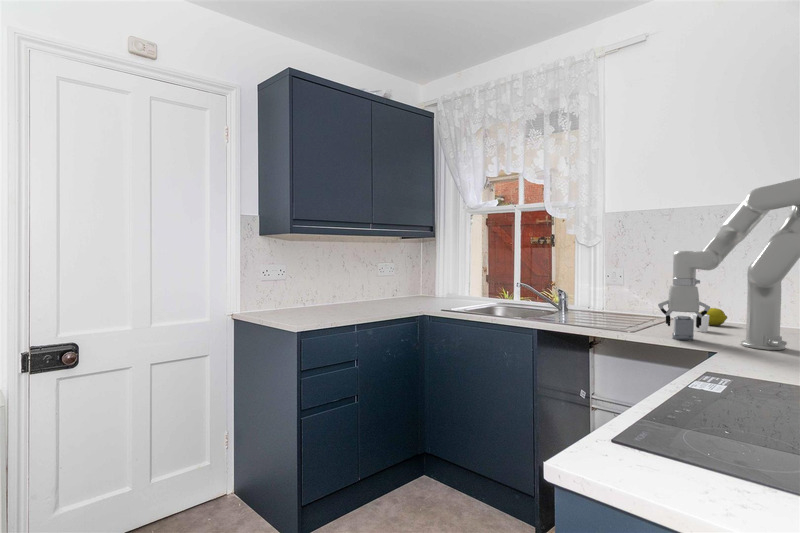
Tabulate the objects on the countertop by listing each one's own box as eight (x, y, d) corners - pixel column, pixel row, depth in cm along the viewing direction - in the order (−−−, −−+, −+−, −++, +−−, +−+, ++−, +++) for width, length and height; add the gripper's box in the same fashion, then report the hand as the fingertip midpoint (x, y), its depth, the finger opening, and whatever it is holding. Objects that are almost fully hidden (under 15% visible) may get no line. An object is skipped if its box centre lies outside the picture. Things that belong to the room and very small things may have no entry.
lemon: (727, 325, 211) (727, 308, 211) (726, 327, 205) (727, 309, 204) (699, 323, 217) (699, 306, 217) (697, 325, 211) (698, 308, 211)
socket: (693, 335, 175) (693, 318, 175) (675, 334, 178) (675, 317, 178) (691, 333, 181) (691, 316, 180) (673, 332, 183) (673, 315, 183)
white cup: (693, 331, 195) (693, 315, 194) (687, 329, 201) (687, 313, 201) (711, 332, 193) (712, 316, 193) (705, 329, 200) (705, 313, 199)
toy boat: (694, 341, 175) (695, 328, 174) (673, 339, 178) (673, 327, 177) (687, 332, 192) (688, 321, 192) (668, 331, 195) (668, 319, 195)
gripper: (708, 282, 178) (707, 326, 179) (657, 281, 186) (656, 323, 186) (712, 284, 171) (711, 329, 172) (659, 282, 179) (658, 326, 179)
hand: (683, 326), depth 179 cm, fingers open, 9 cm apart
